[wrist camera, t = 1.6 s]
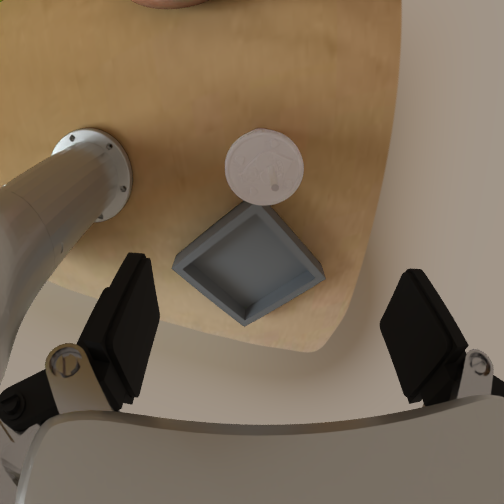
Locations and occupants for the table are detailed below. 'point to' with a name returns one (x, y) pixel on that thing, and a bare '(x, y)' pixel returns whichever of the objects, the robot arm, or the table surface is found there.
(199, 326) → the table surface
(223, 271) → the tray
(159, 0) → the ceramic jug
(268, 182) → the smoothie
